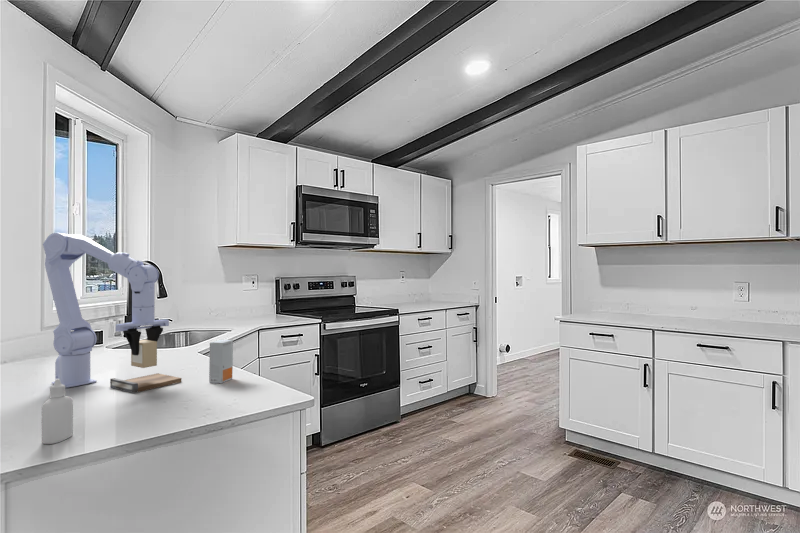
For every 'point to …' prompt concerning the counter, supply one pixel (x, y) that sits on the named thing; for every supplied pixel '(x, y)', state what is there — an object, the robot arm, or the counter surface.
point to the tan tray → (144, 382)
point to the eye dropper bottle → (57, 415)
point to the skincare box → (221, 361)
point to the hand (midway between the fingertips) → (143, 353)
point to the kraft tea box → (145, 354)
